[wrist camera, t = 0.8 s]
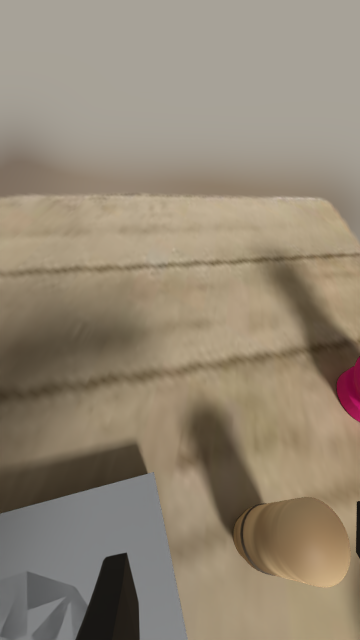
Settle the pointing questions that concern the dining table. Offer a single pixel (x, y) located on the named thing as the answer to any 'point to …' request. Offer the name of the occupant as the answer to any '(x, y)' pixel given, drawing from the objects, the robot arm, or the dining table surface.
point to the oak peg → (294, 541)
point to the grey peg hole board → (85, 561)
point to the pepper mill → (350, 390)
